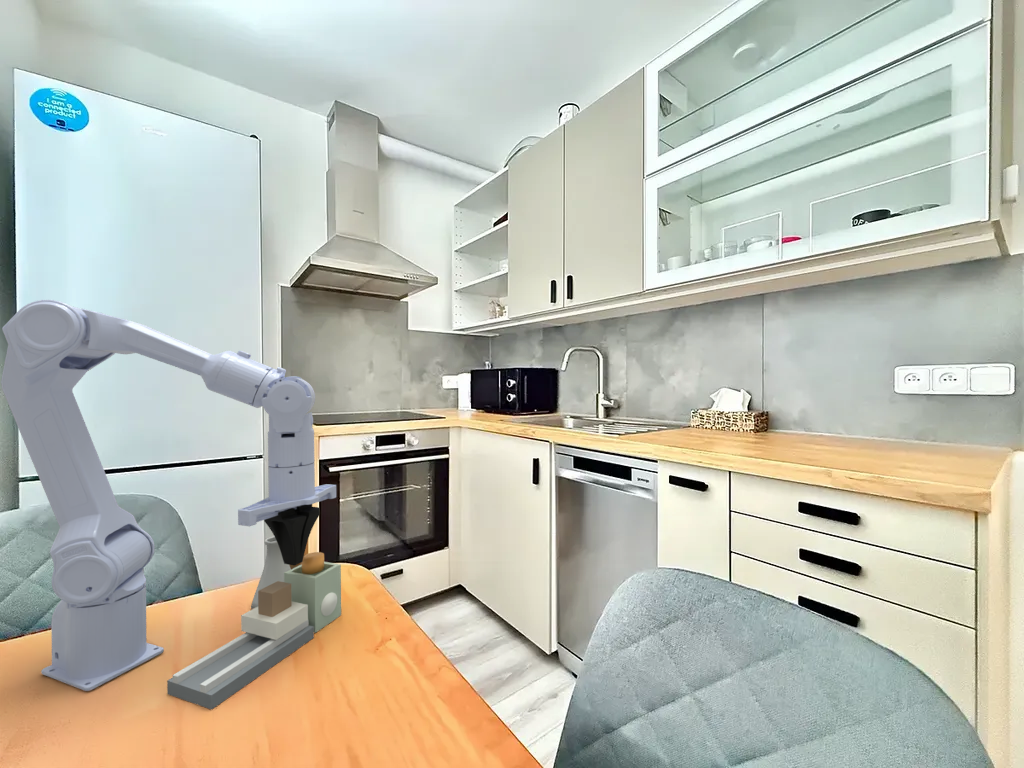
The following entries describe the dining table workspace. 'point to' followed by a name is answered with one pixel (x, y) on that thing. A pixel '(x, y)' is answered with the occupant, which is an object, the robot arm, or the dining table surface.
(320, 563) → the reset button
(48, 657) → the dining table surface
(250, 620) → the carriage
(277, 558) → the flask
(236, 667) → the rail track
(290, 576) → the cabinet
